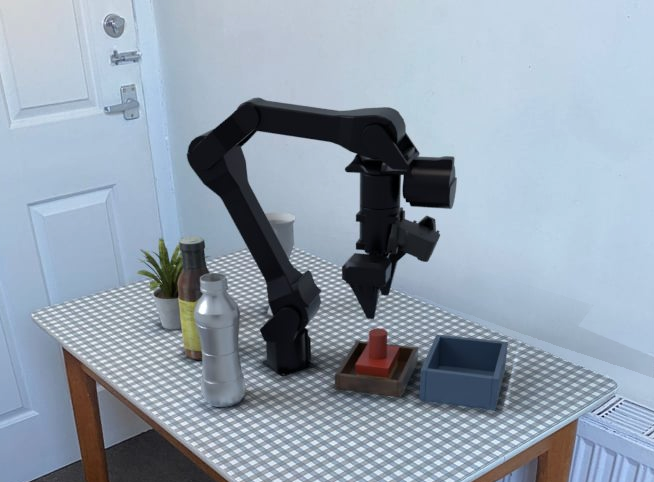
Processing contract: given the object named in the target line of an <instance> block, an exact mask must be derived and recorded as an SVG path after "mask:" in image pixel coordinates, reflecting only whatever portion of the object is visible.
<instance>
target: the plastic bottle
mask: <svg viewBox="0 0 654 482" xmlns="http://www.w3.org/2000/svg"><path fill="white" fill-rule="evenodd" d="M209 273H210V272H209ZM200 285H201V287H200V291H201V292H202V293H203V295H202V296H201V298H200V299H199V301H198V303H197V305H196V307H195V311H194V317H195V322H196V326H197V330H198V334H199V338H200V344H201V348H202V349H201V350H202V360H201V364H202V365H201V367H202V369H201V371H202V373H201V378H200V379H201V381H200V383H201V384H200V390H201V391H200V392H201V394H202V397H203V399H204V400H205V401H206V402H207V403H208V404H209V405H210V406H212V407H216V408H226V407H232V406H235V405H237V404H238V403H240V402H241V401H242V400H243V398H244V397H245V394H246V388H247V387H246V386H247V383H246V379H245V376H244V372H243V369H242V363H241V357H240V346H239V344H240V342H239V340H240V339H239V336H240V335H239V334H240V333H239V332H240V318H241V310H240V307H239V304H238V303H237V302H236V300H235V299H234V298H233V297H232V296H231V294H230V293H229V292H228V291H229V285H228V277H227V275H226V274H224V273H220V272H211V273H210V274H205V275H203V276H201V277H200Z"/></svg>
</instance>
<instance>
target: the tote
mask: <svg viewBox="0 0 654 482" xmlns="http://www.w3.org/2000/svg"><path fill="white" fill-rule="evenodd" d="M508 346H509V341H503V340H494V339H483V338H474V337H465V336H455V335H445V334H436V335H435V337H434V339H433V342H432V344H431V346H430V349H429V350H428V353H427V355H426V357H425V360H424V362H423V364H422V366H421V369H420V381H419V382H420V383H419V387H420V388H419V401H420V402H426V403H427V402H428V403H435V404H443V405H448V406H457V407H466V408H472V409H479V410H480V409H481V410H489V411H497V405H498V401H499V397H500V393H501V390H502V385H503V382H504V376H505V373H506V366H507V365H506V364H507V356H508V355H507V354H508Z"/></svg>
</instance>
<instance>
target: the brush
mask: <svg viewBox="0 0 654 482" xmlns="http://www.w3.org/2000/svg"><path fill="white" fill-rule="evenodd" d="M368 342H369V344H367V346H366V348H365V349H364V351H363V353H362V354H361V356H360V358H359V359H358V361H357V363H356V364H355V373H357V375H359V376H367V377H375V378H383V379H391V378H392V376H393V374H394V372H395V370H396V368H397V365H398V357H399V347H395V346H387V344H388V330H386V329H384V328H372V329H370V330H369V331H368Z"/></svg>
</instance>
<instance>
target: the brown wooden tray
mask: <svg viewBox="0 0 654 482" xmlns="http://www.w3.org/2000/svg"><path fill="white" fill-rule="evenodd" d="M367 344H369V341H364V340H355V342H354V344H353V345H352V347H351V348H350V349H349V352H348V353H347V354H346V355H345V358H344V359H343V361H342V363H341V364H340V366H339V367H338V369H337V370H336V372H335V374H334V390H338V391H345V392H354V393H361V394H369V395H377V396H384V397H392V398H400V399H402V398H403V396H404V393H405V391H406V388H407V387H408V384H409V382H410V380H411V378H412V375H413V373H414V371H415V369H416V367H417V366H418V365H417V364H418V363H419V347H417V346H409V345H408V346H407V345H400V344H392V343H391V344H390V343H387V346H395V347H399V357H398V365H397V368H396V370H395V372H394V374H393V376H392V378H391V379H383V378H375V377H367V376H359V375H357V373H355V364H356V363H357V361H358V359H359V358H360V356H361V354H362V353H363V351H364V349H365V348H366V346H367Z"/></svg>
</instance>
